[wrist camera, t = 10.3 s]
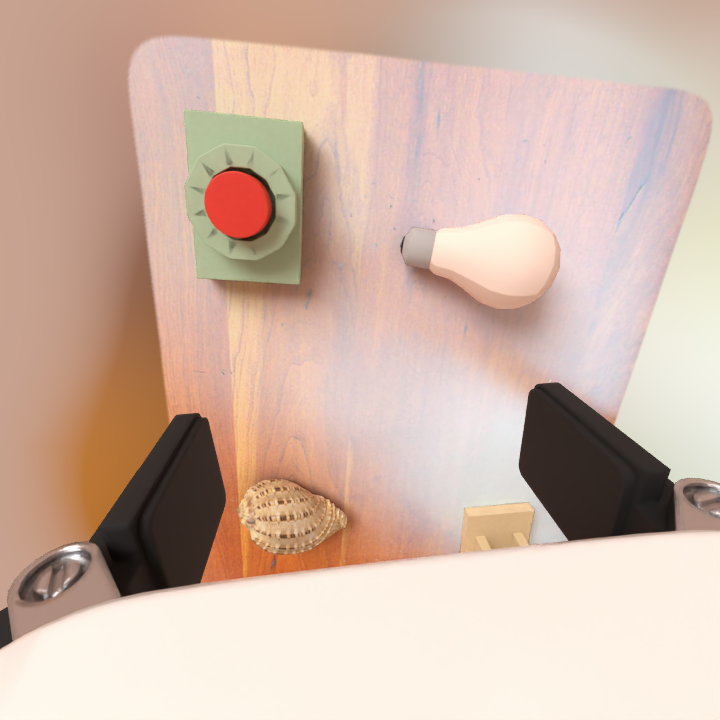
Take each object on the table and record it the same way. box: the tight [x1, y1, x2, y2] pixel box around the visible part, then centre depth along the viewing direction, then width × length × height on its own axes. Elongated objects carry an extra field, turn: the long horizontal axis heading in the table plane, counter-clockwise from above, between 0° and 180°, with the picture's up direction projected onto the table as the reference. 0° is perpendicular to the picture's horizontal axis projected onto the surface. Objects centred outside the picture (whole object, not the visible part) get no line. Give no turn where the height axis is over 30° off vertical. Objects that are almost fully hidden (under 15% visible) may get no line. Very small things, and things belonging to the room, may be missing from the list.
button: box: [204, 171, 272, 238], centre depth 23 cm, size 4×4×2 cm
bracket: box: [460, 503, 534, 553], centre depth 36 cm, size 10×7×13 cm
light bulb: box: [400, 214, 561, 309], centre depth 27 cm, size 7×7×11 cm
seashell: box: [236, 479, 347, 555], centre depth 35 cm, size 8×6×10 cm
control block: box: [184, 109, 304, 285], centre depth 25 cm, size 10×7×4 cm
